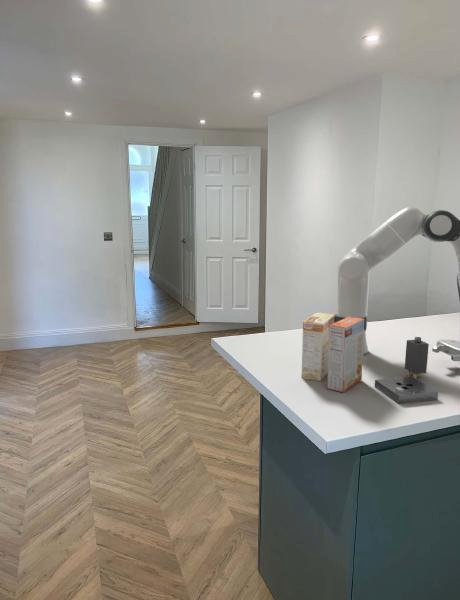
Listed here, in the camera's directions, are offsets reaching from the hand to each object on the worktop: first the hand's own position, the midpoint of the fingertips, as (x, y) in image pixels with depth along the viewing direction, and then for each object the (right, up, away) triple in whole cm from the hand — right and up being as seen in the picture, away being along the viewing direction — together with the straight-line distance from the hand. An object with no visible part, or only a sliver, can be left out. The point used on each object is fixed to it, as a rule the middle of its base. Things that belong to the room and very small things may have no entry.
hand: (442, 353), depth 155 cm
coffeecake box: (-42, -7, +3) cm, 43 cm away
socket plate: (-19, -10, -15) cm, 26 cm away
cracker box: (-35, -9, -8) cm, 37 cm away
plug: (-10, -7, -1) cm, 12 cm away
